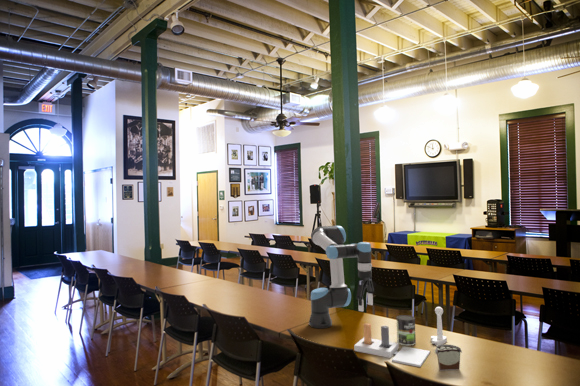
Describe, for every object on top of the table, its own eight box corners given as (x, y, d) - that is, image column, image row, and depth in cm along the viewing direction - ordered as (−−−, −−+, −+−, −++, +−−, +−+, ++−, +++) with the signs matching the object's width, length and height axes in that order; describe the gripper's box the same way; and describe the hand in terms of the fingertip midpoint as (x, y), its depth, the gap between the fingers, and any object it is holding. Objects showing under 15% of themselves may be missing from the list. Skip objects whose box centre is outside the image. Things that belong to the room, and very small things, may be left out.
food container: (456, 364, 190) (455, 343, 190) (462, 369, 183) (461, 348, 184) (431, 365, 189) (430, 344, 189) (436, 370, 183) (436, 349, 183)
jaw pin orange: (363, 348, 212) (362, 325, 213) (366, 346, 216) (365, 322, 216) (370, 350, 210) (369, 326, 211) (372, 347, 214) (372, 323, 214)
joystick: (439, 346, 213) (437, 309, 213) (426, 342, 218) (425, 307, 219) (448, 340, 220) (447, 305, 220) (436, 337, 226) (434, 303, 226)
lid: (388, 360, 196) (387, 358, 196) (399, 347, 213) (399, 345, 213) (420, 367, 187) (420, 365, 187) (430, 352, 204) (430, 350, 204)
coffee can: (419, 344, 216) (418, 319, 216) (403, 346, 213) (402, 321, 214) (409, 338, 226) (408, 314, 226) (393, 340, 223) (392, 316, 224)
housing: (354, 350, 210) (354, 345, 210) (364, 342, 222) (364, 337, 222) (390, 357, 199) (390, 352, 199) (398, 348, 211) (398, 343, 211)
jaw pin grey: (380, 352, 207) (379, 327, 207) (383, 349, 211) (382, 325, 211) (388, 353, 205) (387, 328, 205) (390, 350, 208) (389, 326, 209)
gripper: (362, 274, 205) (363, 314, 205) (379, 266, 226) (380, 303, 226) (349, 273, 209) (350, 312, 209) (366, 265, 230) (368, 301, 230)
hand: (365, 307), depth 218 cm, fingers open, 13 cm apart
